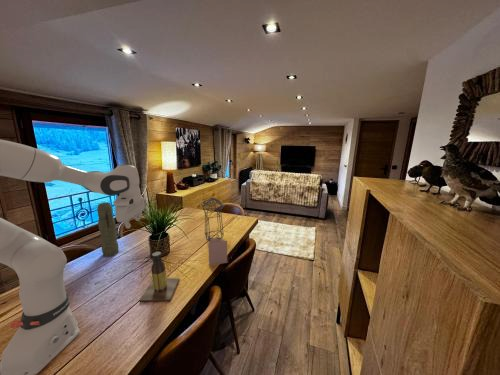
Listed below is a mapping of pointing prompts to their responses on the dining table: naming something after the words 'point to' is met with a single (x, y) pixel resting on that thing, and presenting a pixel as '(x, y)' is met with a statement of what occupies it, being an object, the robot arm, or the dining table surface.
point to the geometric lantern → (212, 217)
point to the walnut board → (163, 296)
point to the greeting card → (217, 251)
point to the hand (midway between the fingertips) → (133, 223)
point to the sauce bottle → (158, 273)
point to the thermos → (107, 230)
